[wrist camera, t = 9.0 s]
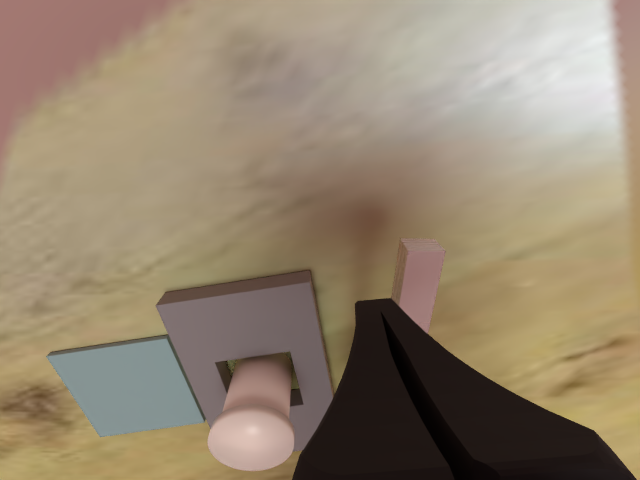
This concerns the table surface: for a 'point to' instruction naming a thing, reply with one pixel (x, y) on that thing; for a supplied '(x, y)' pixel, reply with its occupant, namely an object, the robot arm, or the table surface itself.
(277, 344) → the socket block
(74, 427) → the table surface
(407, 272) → the clip
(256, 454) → the plug
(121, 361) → the mat
